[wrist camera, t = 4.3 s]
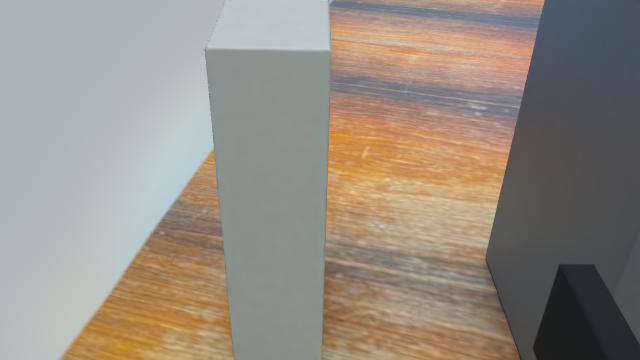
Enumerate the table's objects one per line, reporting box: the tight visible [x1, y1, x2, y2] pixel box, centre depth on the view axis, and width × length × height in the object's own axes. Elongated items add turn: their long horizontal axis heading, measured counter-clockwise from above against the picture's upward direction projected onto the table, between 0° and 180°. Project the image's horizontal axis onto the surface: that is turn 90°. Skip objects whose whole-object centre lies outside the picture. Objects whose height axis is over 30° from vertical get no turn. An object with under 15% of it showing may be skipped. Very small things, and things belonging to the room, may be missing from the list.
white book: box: [205, 0, 331, 360], centre depth 23 cm, size 3×11×16 cm, turn 0°
